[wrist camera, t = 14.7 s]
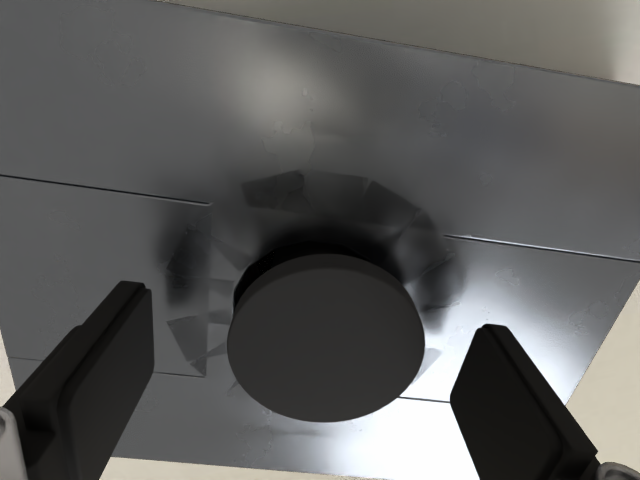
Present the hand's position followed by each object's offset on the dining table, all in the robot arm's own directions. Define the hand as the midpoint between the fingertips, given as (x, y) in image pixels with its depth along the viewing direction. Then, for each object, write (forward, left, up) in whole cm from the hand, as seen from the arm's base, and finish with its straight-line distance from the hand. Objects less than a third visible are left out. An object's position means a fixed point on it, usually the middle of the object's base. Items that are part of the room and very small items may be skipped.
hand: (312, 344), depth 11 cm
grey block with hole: (0, 0, -6) cm, 6 cm away
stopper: (0, 0, -6) cm, 6 cm away
